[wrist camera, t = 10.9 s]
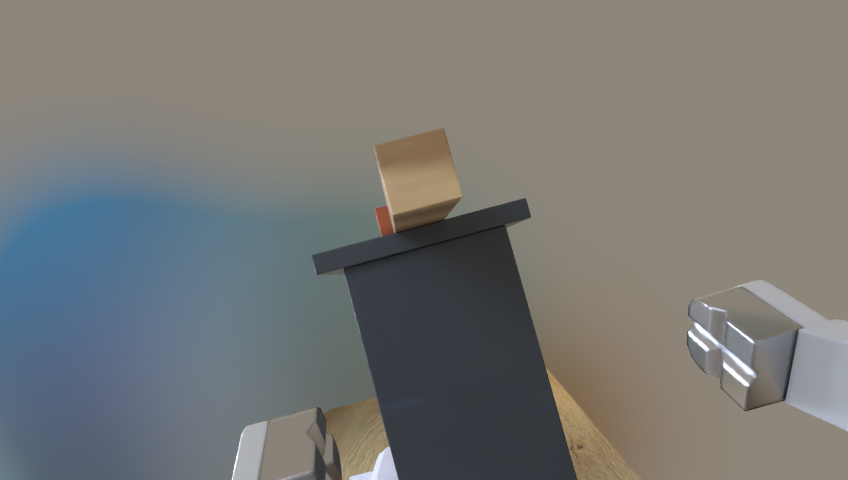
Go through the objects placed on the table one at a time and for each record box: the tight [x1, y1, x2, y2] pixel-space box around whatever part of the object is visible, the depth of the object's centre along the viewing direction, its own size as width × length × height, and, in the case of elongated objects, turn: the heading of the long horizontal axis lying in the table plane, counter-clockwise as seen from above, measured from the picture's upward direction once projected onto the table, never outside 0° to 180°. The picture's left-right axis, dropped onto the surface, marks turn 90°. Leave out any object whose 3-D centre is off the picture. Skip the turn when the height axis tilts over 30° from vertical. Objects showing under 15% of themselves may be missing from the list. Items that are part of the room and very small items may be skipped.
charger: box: [349, 447, 398, 480], centre depth 52 cm, size 5×9×15 cm
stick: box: [374, 128, 463, 236], centre depth 31 cm, size 22×5×3 cm, turn 3°
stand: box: [312, 198, 577, 480], centre depth 33 cm, size 11×13×26 cm
